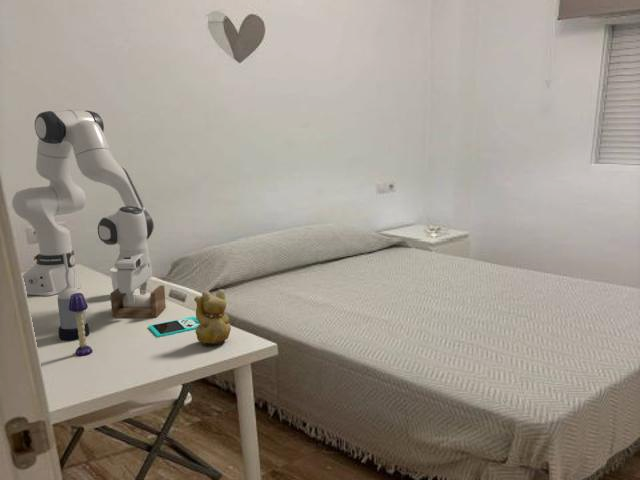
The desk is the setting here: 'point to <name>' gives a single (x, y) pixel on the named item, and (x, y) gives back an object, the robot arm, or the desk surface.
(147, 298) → the roll
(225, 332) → the decorative figurine
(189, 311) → the desk surface
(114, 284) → the white cup
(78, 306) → the toy lamp
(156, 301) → the holder
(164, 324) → the handheld game console
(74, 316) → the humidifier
